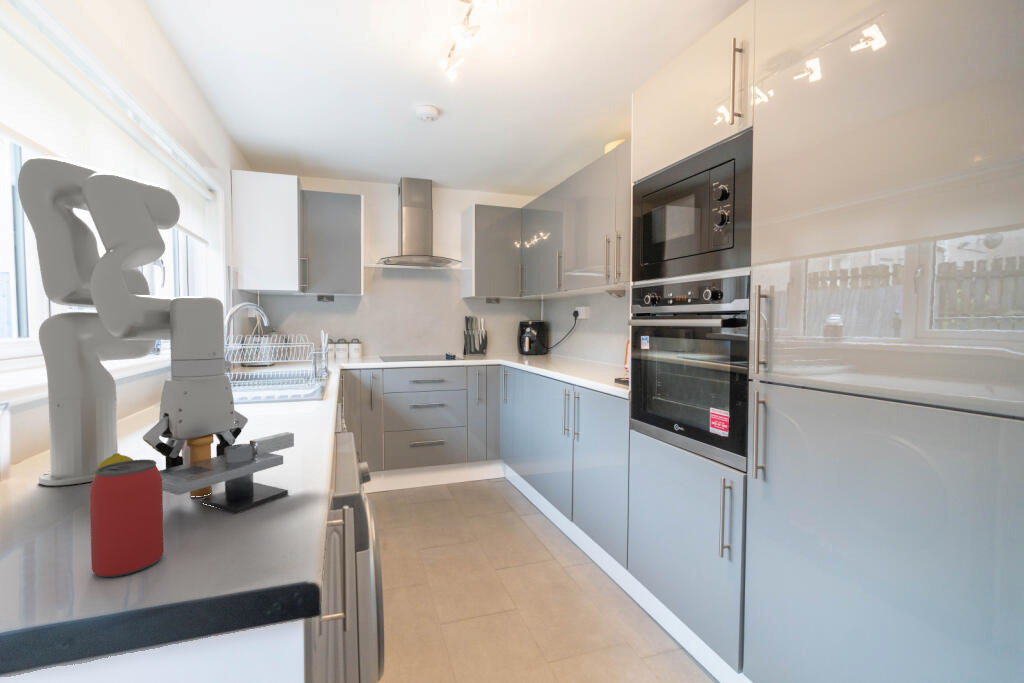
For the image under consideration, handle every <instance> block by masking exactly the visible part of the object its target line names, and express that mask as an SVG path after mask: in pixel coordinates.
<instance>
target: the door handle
mask: <svg viewBox="0 0 1024 683" xmlns="http://www.w3.org/2000/svg"><path fill="white" fill-rule="evenodd" d="M294 434H295V433H294V432H289V431H288V432H287V431H285V432H281V433H277V434H273V435H269V436H263V437H259V438H255V439H254V438H253V439H251V440H249V443H239V444H233V445H232V446H228V447H225V448H224V455H221V456H217V455H216V456H214V457H211V458H209V459H205V460H201V461H197V462H193V463H188V464H184V465H180V466H176V467H172V468H168V469H166V468H164V469H161V470H160V469H159V472H160V474H161V477H162V492H165V493H169V494H173V495H176V496H180V495H183V494H187V493H190V491H194V490H197V489H201V488H204V487H207V486H211V485H212V486H213V485H217V484H220V483H224V486H225V487H224V491H222V492H219V493H216V494H213V495H208V496H205V497H204V498H203V497H202V498H201V499H200V504H201V503H204V504H207V505H211V506H214V507H217V508H220V509H222V510H221V511H224V510H225V512H227V513H231V514H235V515H237V514H240V513H242V512H245V511H248V510H250V509H252V508H256V507H258V506H261V505H265V504H267V503H269V502H271V501H274V500H278V499H280V498H283V497H287V495H289V490H288V489H285V488H280V487H276V486H272V485H269V484H268V485H267V484H263V483H259V482H255V481H254V474H255V473H258V472H262V471H265V470H268V469H272V468H274V467H278V466H281V465H284V455H282V454H276V453H273V452H278V451H281V450H285V449H289V448H292V447H295V435H294ZM217 508H216V509H217ZM220 509H219V510H220Z"/></svg>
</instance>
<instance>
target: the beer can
mask: <svg viewBox="0 0 1024 683" xmlns="http://www.w3.org/2000/svg"><path fill="white" fill-rule="evenodd" d="M159 471H160V469H159V468H158V466H157V461H155V460H154V459H133V460H131V461H124V462H118V463H114V464H109V465H106V466H103V467H101V468H98V469H97V470H96V471H95V473H96V476H95V478H94V480H93V481H91V484H90V488H89V518H90V519H89V523H90V525H89V526H90V557H91V558H90V559H91V571H92V573H93V574H94V575H95V576H98V577H101V578H115V577H123V576H128V575H131V574H134V572H135V573H137V572H140V571H143V570H145V569H147V568H149V567H151V566H152V565H154V564H156V563H157V562H158V561H159V560H160V559H161V558H162V557H163V555H164V553H165V552H164V548H165V546H164V511H163V510H164V508H163V507H164V506H163V501H164V500H163V499H164V498H163V491H162V477H161V474H160V472H159Z"/></svg>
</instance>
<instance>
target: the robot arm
mask: <svg viewBox="0 0 1024 683" xmlns="http://www.w3.org/2000/svg"><path fill="white" fill-rule="evenodd" d="M17 193H18V197H19V201H20V205H21V206H22V208H23V211H24V213H25V216H26V218H27V219H28V220H27V221H28V222H29V224H30V226H31V229H32V231H33V233H34V237H35V238H34V239H35V242H36V250H37V257H38V265H39V269H40V270H39V271H40V276H41V282H42V287H43V290H44V291H43V292H44V293H45V295H46V297H47V298H48V300H49V301H50V302H52V303H54V304H56V305H61V306H66V307H67V306H68V307H78V308H95V309H96V310H95V311H96V312H92V311H91V312H90V311H88V312H84V311H78V312H77V311H75V312H74V311H72V312H71V311H70V312H61V313H56V314H54V315H51V316H49V317H48V318H46V319H45V320H44V321H43V322H42V323H41V324H40V325H39V329H38V340H39V345H40V348H41V351H42V355H43V359H44V363H45V369H46V377H47V391H48V392H47V393H48V394H47V395H48V396H47V398H48V418H49V419H48V422H49V425H48V427H49V454H50V456H49V457H50V470H49V471H46V472H44V473H42V474H41V475H40V476H38V483H39V484H40V485H43V486H48V487H49V486H50V487H51V486H52V487H55V486H69V485H77V484H84V483H90V482H91V483H92V482H93V480H94V476H95V471H96V470H97V468H98V466H99V465H100V463H101V462H103V461H104V460H105V459H107V458H109V457H111V456H112V455H113V454H116V453H119V452H118V451H119V450H118V444H119V442H118V414H117V412H118V410H117V409H118V408H117V386H116V382H115V379H114V377H113V375H112V374H111V373H110V372H109V371H108V370H107V368H106V367H105V366H104V365H103V364H102V362H107V361H122V360H135V359H142V358H145V357H147V356H148V355H150V354H151V353H152V352H153V350H154V348H155V346H156V342H157V341H160V340H162V341H170V343H169V345H170V346H169V347H170V375H171V376H170V378H169V379H164V384H163V387H162V388H163V389H162V392H161V398H160V403H159V404H160V406H159V415H158V416H159V418H158V422H157V423H156V424H155V425H154V426H152V427H151V428H150V429H149V430H148V431H147V432H145V434H144V435H143V436H142V440H143V441H144V442H145V443H146V444H147V445H149V446H150V447H152V449H154V450H155V451H156V452H158V453H159V454H161V456H162V457H165V469H168V468H172V467H176V466H180V465H183V457H182V455H180V453H181V452H182V451H181V449H182V447H183V445H184V443H185V441H186V440H188V439H193V438H198V437H203V436H208V435H213V436H214V435H215V437H216V438H217V440H218V442H219V443H217V444H216V452H215V453H216V457H217V456H221V455H224V448H225V447H228V446H232V445H235V443H236V440H237V438H238V437H239V436H240V434H241V433H242V430H243V429H244V427H245V426H246V425H247V423H248V421H249V419H248V418H247V417H246V416H244V415H243V414H241V413H240V412H238V411H237V410H235V401H234V394H233V388H232V385H231V381H230V378H229V376H228V375H226V370H227V369H230V368H231V367H232V362H231V360H227V361H226V358H225V324H224V323H225V322H224V321H225V316H224V305H223V302H222V301H221V300H220V299H218V298H216V297H211V296H193V295H192V296H191V295H190V296H187V295H186V296H177V297H172V296H171V297H170V296H159V295H151V292H150V288H149V287H150V286H149V284H148V280H147V278H146V276H145V275H144V274H143V273H142V271H141V270H140V269H138V267H142V266H143V267H144V266H146V265H149V264H152V263H153V262H156V261H157V260H158V259H160V258H162V256H163V255H164V254H165V251H166V244H165V241H164V239H163V237H162V234H161V232H160V230H169V229H172V228H173V227H175V226H176V225H177V224H178V222H179V219H180V216H181V215H180V214H181V209H180V204H179V203H178V202H179V201H178V200H177V198H176V196H175V195H174V194H173V193H172V192H171V191H170V190H169V189H167V188H165V187H163V186H161V185H158V184H155V183H152V182H151V183H150V182H147V181H144V180H140V179H137V178H133V177H131V176H126V175H122V174H118V173H113V172H110V171H106V170H104V169H100V168H97V167H93V166H89V165H87V164H83V163H79V162H75V161H72V160H67V159H63V158H59V157H53V156H52V157H51V156H37V157H36V156H35V157H32V158H30V159H27V160H26V161H25V162H23V165H22V166H21V167H20V170H19V173H18V179H17ZM74 209H78V210H82V211H87V212H89V214H90V217H91V219H92V221H93V224H94V225H95V229H96V231H97V233H98V235H99V238H100V240H101V242H102V245H103V248H104V250H105V253H104V254H102V256H101V257H100V253H99V248H98V242H97V241H98V240H97V238H96V236H95V234H94V232H93V231H92V229H91V228H90V227H89V226H88V224H87V223H86V222H85V221H84V219H82V218H81V217H80V215H78V214H77V213H76V212H75V211H74ZM160 437H162V438H165V439H167V441H166V442H163V440H161V439H160Z"/></svg>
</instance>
